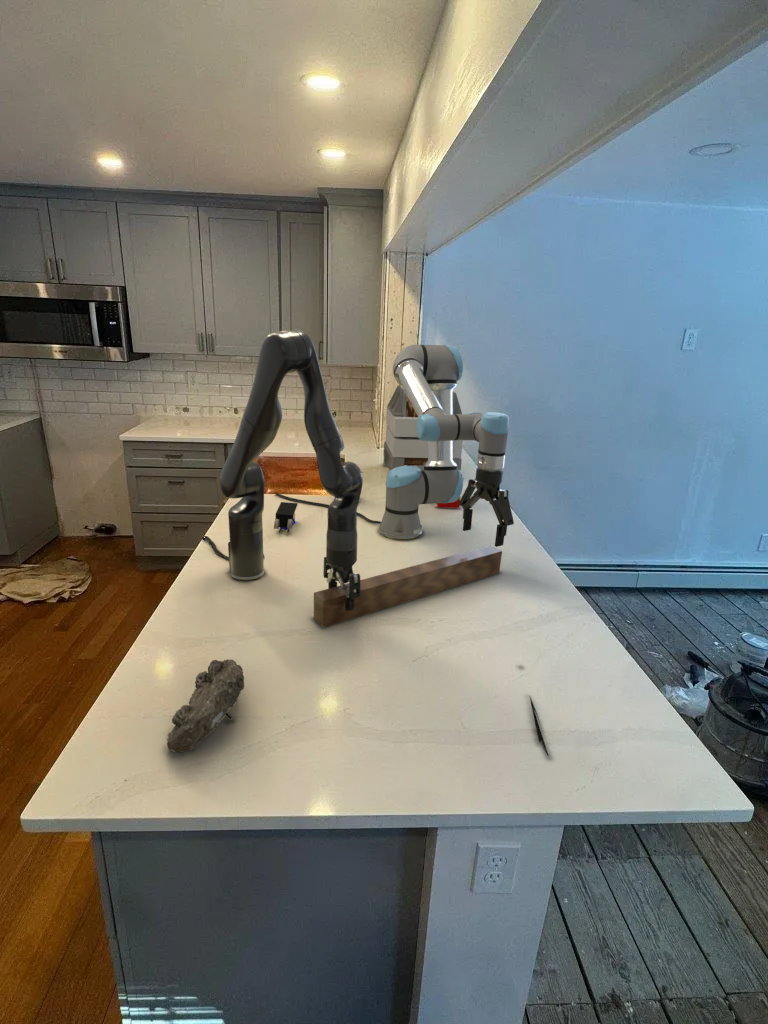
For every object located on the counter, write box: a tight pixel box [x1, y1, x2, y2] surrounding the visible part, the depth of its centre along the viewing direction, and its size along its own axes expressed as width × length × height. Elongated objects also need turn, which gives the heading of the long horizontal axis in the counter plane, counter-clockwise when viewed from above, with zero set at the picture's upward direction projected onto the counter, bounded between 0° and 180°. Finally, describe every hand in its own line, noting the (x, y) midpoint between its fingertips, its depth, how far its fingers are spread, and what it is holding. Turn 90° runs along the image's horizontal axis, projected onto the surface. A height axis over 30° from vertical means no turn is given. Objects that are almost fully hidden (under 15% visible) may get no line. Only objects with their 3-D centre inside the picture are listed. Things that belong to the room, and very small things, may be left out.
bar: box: [313, 545, 503, 628], centre depth 157 cm, size 61×5×7 cm, turn 125°
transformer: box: [383, 384, 464, 472], centre depth 268 cm, size 34×33×41 cm
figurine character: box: [273, 501, 298, 534], centre depth 199 cm, size 7×8×15 cm
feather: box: [529, 696, 549, 756], centre depth 114 cm, size 2×28×2 cm
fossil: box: [166, 658, 245, 754], centre depth 106 cm, size 22×10×15 cm
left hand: (341, 602), depth 144 cm, fingers open, 8 cm apart
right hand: (482, 537), depth 168 cm, fingers open, 13 cm apart
